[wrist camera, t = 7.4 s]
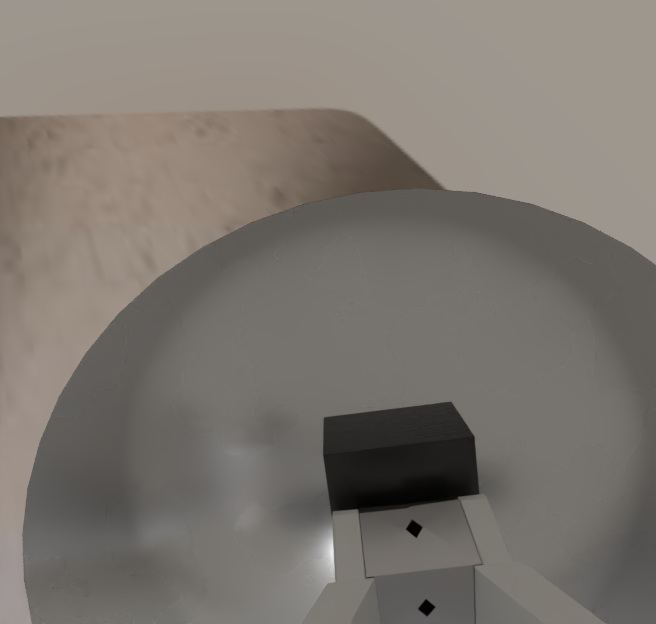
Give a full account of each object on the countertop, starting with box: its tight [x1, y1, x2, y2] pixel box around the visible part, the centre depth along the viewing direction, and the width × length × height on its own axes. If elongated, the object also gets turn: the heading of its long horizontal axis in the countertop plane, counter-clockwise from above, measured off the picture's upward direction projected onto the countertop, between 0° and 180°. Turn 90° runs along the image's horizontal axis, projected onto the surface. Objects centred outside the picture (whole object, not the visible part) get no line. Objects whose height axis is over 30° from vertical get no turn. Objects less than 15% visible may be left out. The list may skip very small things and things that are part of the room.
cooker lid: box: [23, 188, 656, 624], centre depth 13 cm, size 19×19×4 cm
